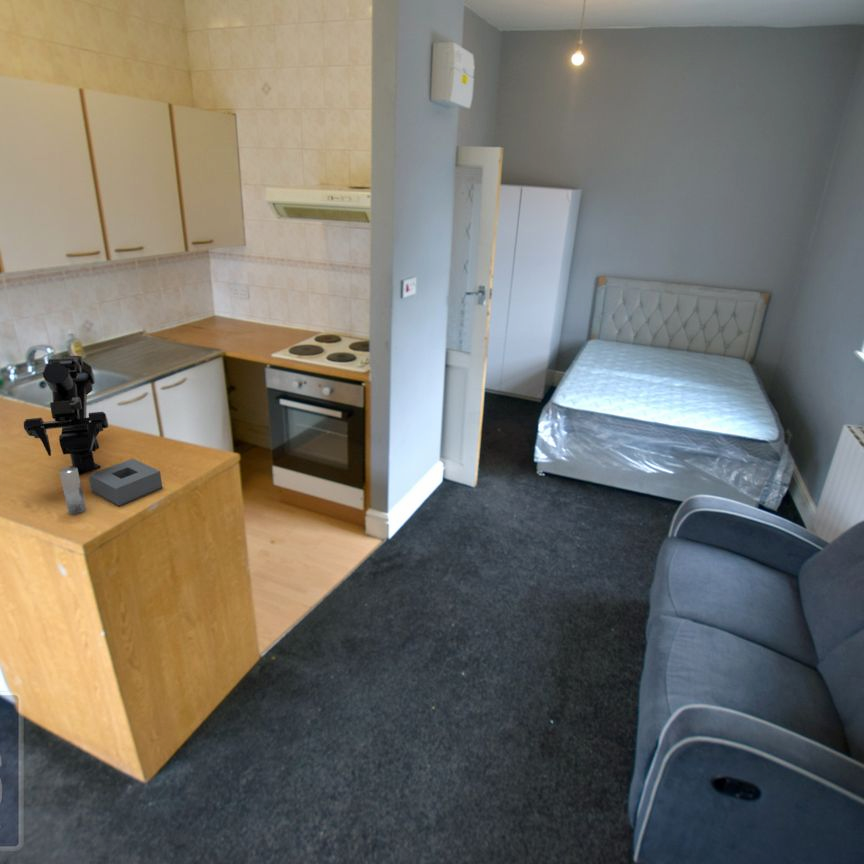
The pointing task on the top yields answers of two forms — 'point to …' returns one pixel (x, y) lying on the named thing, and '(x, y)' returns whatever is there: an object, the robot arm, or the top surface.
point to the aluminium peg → (72, 490)
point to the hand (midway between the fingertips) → (70, 453)
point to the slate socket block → (125, 482)
